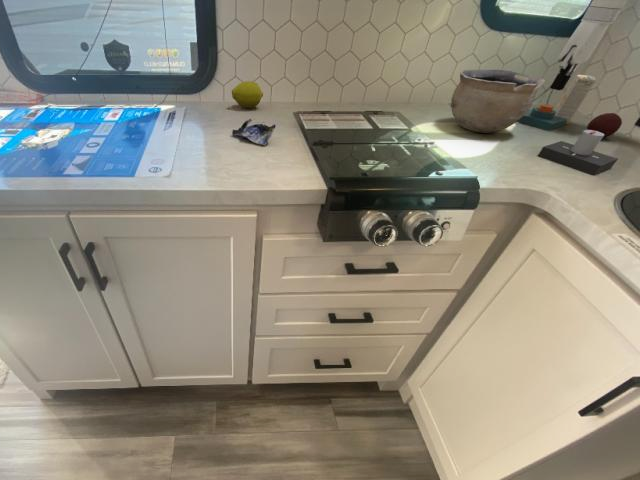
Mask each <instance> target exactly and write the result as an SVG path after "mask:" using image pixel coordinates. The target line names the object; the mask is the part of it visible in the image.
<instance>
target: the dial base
mask: <svg viewBox="0 0 640 480" xmlns="http://www.w3.org/2000/svg"><path fill="white" fill-rule="evenodd" d="M573 146H574V144H573V143H570V142H567V141H563V140H561V141H557V142H554V143H551V144H547V145H544V146H542V148H541V150H540V151H539V153H538V155H537V157H541V158H543V159H545V160H549V161H552V162H555V163H557V164H560V165H563V166H566V167H569V168H571V169H575V170H577V171H580V172H584V173H587V174H589V175H592V176H595V175H597V174H600V173H603V172H605V171H607V170H609V169H612V167H614V166H615V163H617V161H618V160H619V158H618V157H615V156H611V155H608V154H605V153H602V152H599V151H595V150H593V151H592V153H591V154H590V155H579V154H576V153H573V152H572V151H571V148H572V147H573Z"/></svg>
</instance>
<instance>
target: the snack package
mask: <svg viewBox="0 0 640 480" xmlns="http://www.w3.org/2000/svg"><path fill="white" fill-rule="evenodd" d="M253 120H255V119H253ZM251 123H252V118H249V119H246V120H245V121H244V122H243V123H242V125H241V126H240V127H239V128H238V129H232V133H231V135H232V136H238V137H241V138H247V139H248V140H249V141H251V142H253V143H255V144H257V145H262V146H265V147H266V145H267V143H269V141H270V139H271V137H272V135H273V133H274V130H275V129H276V126H277V125H276V124H272V125H271V126H268V125H266V124H263V123H265V122H264V121H263V122H262V123H260V124H259V123H255V124H252V125H249V124H251Z"/></svg>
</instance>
